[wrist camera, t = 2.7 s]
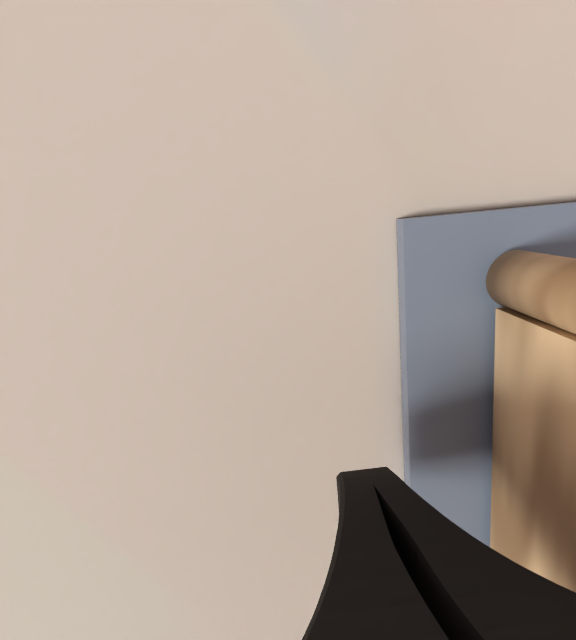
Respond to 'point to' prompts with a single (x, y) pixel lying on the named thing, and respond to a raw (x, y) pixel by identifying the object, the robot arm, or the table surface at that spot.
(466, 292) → the board
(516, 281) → the oak fence section
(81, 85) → the table surface
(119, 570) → the table surface
